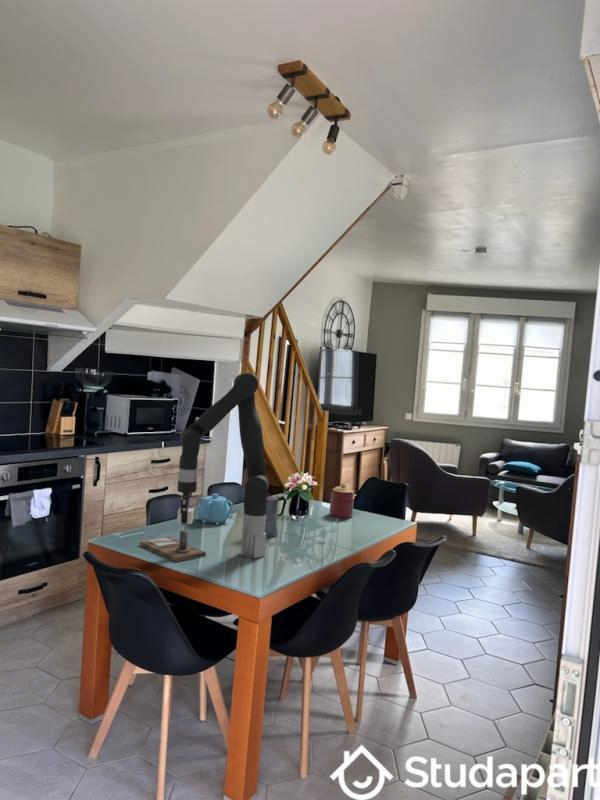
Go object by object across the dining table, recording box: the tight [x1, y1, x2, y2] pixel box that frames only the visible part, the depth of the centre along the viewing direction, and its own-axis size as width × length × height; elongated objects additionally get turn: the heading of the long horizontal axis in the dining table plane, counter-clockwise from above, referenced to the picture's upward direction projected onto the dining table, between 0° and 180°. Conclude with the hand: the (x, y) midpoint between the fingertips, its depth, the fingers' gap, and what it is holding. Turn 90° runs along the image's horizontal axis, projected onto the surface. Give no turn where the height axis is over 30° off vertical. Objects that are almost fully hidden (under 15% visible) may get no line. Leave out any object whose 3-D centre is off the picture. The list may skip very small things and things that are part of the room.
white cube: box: [176, 507, 195, 525], centre depth 243 cm, size 6×6×5 cm
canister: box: [328, 483, 355, 519], centre depth 333 cm, size 13×13×18 cm
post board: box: [139, 530, 207, 563], centre depth 248 cm, size 26×14×10 cm, turn 47°
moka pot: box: [265, 491, 287, 538], centre depth 282 cm, size 10×15×20 cm, turn 117°
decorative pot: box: [194, 493, 234, 523], centre depth 299 cm, size 16×16×14 cm
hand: (185, 521), depth 243 cm, fingers closed on white cube, 5 cm apart
